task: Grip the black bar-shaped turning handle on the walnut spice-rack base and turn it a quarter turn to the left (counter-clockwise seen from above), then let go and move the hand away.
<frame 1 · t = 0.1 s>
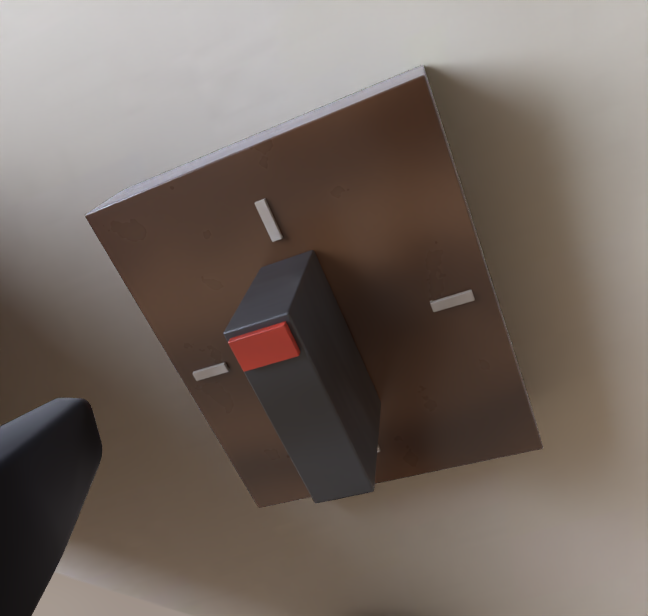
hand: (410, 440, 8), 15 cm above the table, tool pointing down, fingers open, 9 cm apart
rack base: (334, 299, 23), on the table
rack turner: (313, 375, 19), point 5 cm above the table, hinge at 0.0°
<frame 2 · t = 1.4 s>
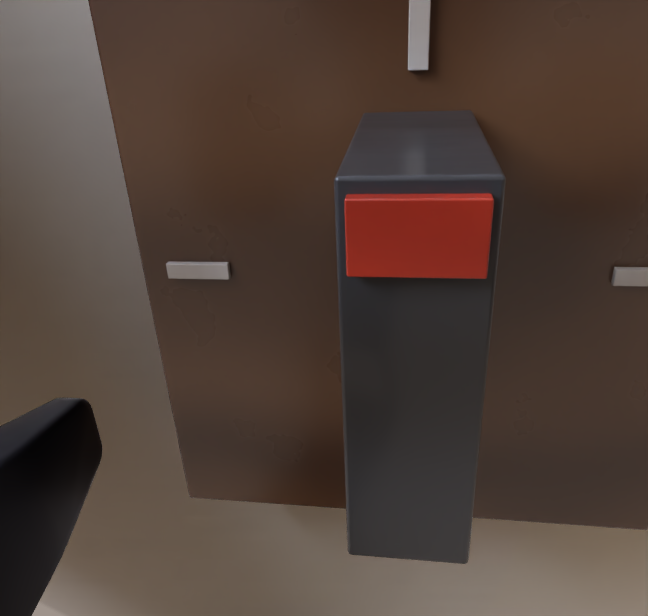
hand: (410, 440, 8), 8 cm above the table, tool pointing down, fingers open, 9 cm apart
rack base: (413, 223, 15), on the table
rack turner: (412, 328, 10), point 5 cm above the table, hinge at 0.0°
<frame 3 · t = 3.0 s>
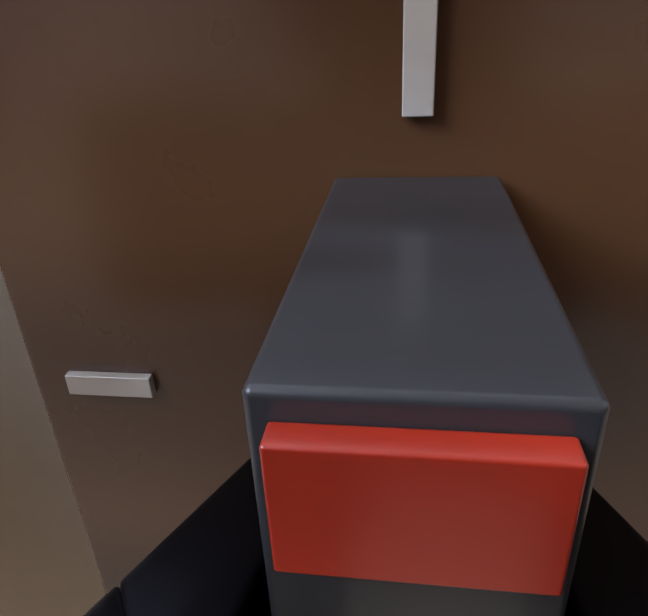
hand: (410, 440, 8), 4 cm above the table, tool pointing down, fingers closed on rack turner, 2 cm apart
rack base: (410, 301, 11), on the table
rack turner: (408, 522, 7), point 5 cm above the table, hinge at 0.0°, touching gripper
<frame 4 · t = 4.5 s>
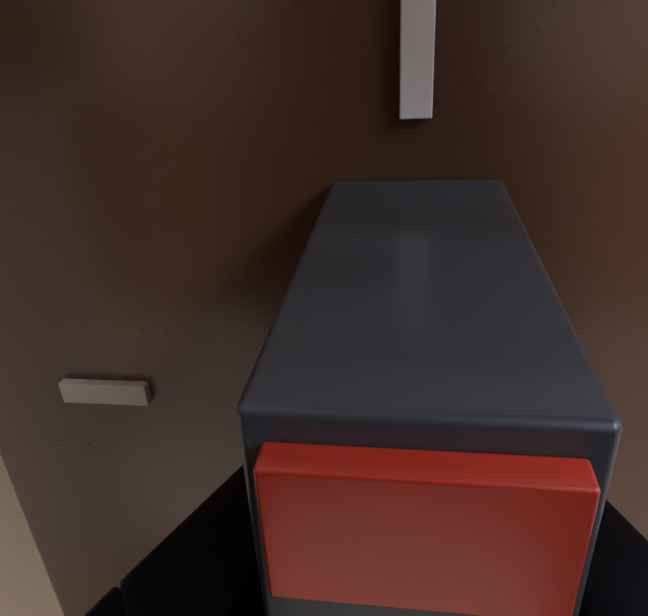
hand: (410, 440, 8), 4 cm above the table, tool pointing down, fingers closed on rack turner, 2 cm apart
rack base: (410, 305, 11), on the table
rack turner: (409, 534, 6), point 5 cm above the table, hinge at 89.7°, touching gripper
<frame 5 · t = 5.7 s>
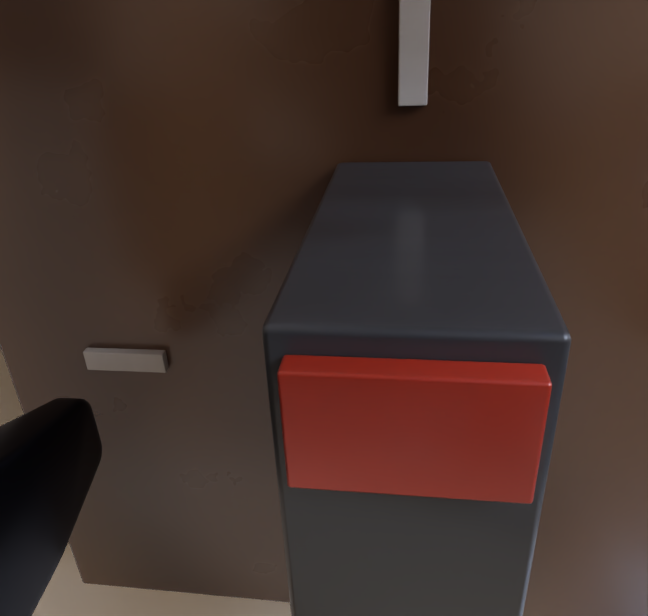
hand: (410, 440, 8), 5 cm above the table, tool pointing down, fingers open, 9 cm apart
rack base: (408, 285, 12), on the table
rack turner: (404, 476, 7), point 5 cm above the table, hinge at 89.7°
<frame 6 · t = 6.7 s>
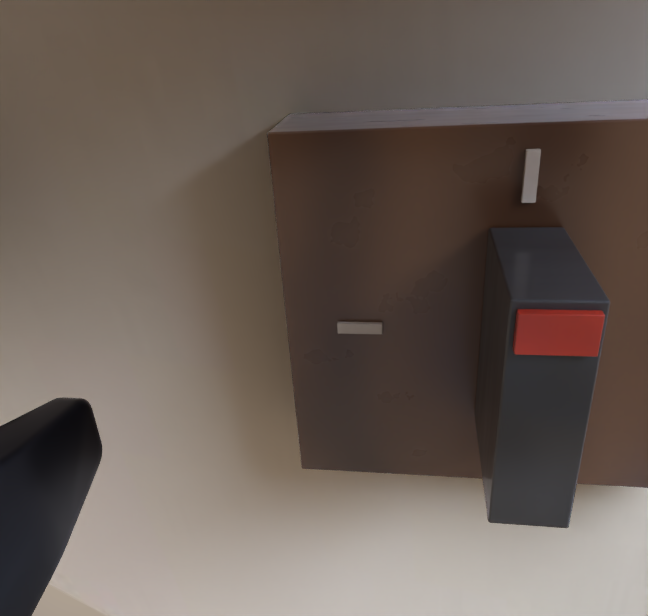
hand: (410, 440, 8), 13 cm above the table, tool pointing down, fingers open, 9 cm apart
rack base: (502, 286, 20), on the table
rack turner: (527, 374, 15), point 5 cm above the table, hinge at 89.7°
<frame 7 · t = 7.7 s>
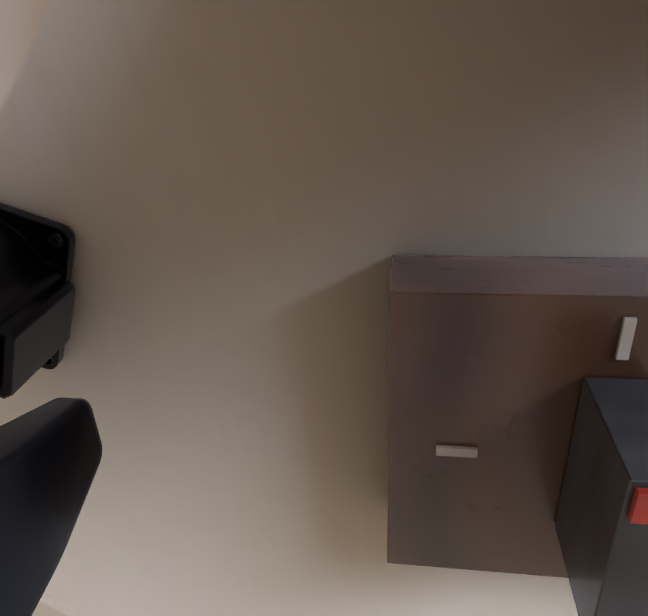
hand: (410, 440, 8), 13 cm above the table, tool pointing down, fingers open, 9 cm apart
rack base: (576, 403, 22), on the table
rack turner: (620, 513, 17), point 5 cm above the table, hinge at 89.7°
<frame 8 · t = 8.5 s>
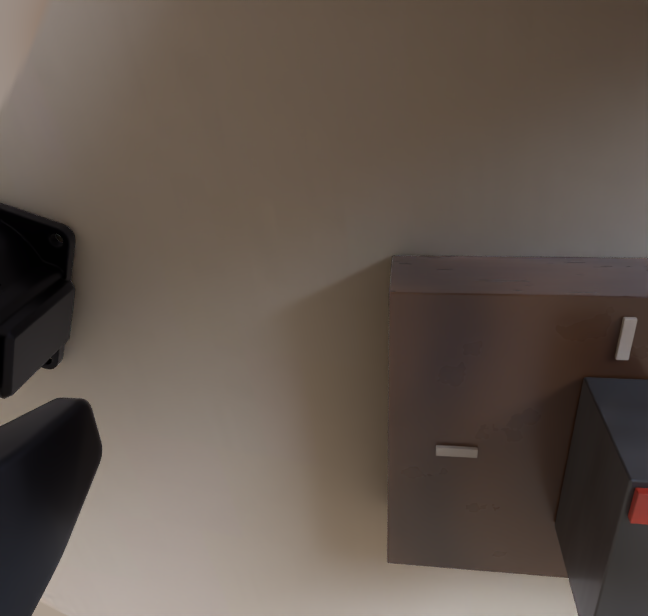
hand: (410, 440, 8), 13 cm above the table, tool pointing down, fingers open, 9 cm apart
rack base: (576, 403, 22), on the table
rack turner: (620, 513, 17), point 5 cm above the table, hinge at 89.7°
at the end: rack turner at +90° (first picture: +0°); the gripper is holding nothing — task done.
